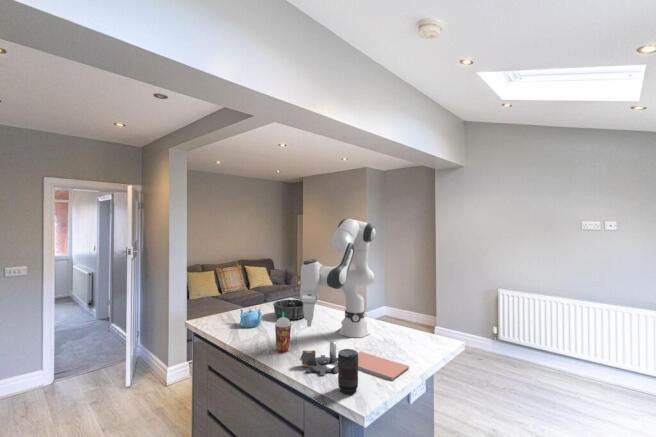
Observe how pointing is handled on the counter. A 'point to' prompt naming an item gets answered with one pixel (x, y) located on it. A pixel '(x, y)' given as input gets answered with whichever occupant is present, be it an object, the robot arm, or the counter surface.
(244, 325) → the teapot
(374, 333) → the counter surface
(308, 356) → the grey and orange block
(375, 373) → the notebook
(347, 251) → the robot arm
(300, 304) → the bundt pan
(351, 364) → the camera lens
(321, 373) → the sprocket
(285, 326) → the smoothie
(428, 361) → the counter surface
